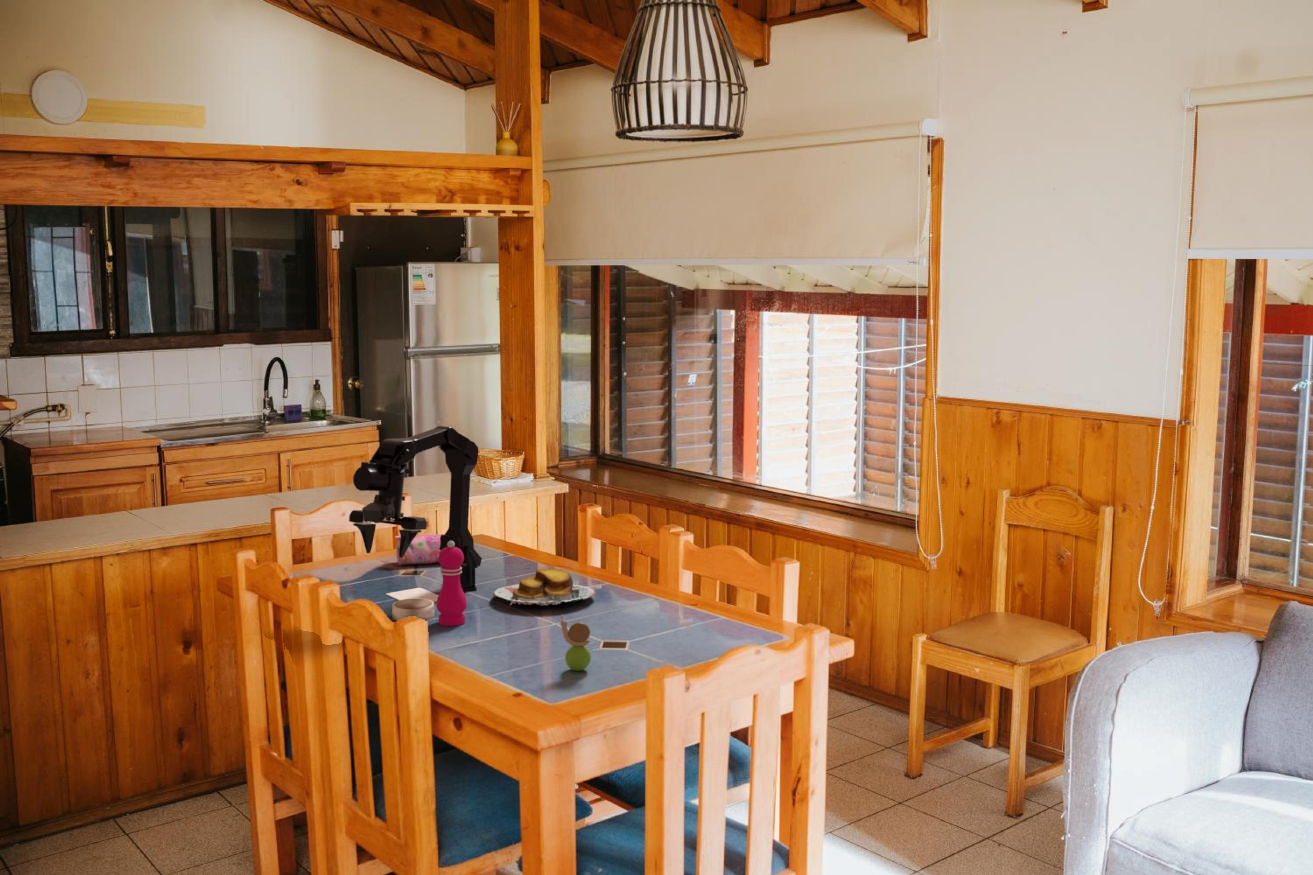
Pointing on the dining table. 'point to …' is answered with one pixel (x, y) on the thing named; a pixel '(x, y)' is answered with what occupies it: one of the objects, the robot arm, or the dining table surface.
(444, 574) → the pepper mill
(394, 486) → the robot arm
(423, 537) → the pencil case
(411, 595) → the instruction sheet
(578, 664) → the snail figurine
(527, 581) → the food on plate
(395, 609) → the round bowl
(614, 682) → the dining table surface
